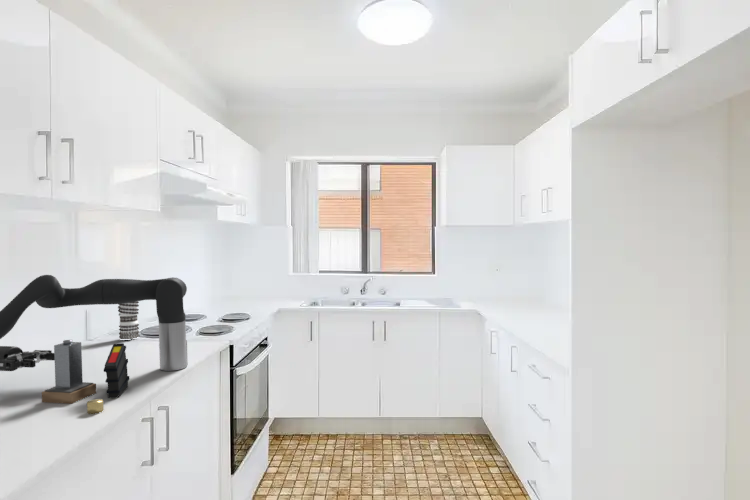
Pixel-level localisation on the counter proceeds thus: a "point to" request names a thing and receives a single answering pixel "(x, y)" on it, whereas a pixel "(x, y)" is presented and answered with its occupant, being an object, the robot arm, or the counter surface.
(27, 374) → the counter surface
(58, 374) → the block
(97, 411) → the short brass cylinder
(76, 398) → the stand
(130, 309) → the decorative candle
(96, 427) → the counter surface
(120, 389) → the black ridged block
